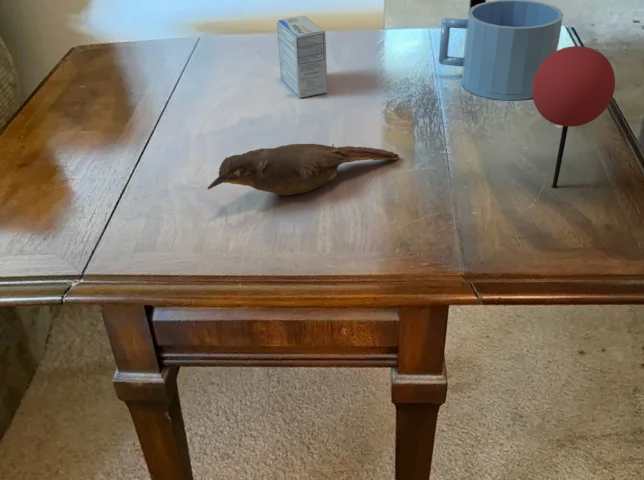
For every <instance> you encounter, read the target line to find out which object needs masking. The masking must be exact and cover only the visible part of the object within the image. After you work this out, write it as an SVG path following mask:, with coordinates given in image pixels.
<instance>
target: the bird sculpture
mask: <svg viewBox="0 0 644 480" xmlns="http://www.w3.org/2000/svg"><path fill="white" fill-rule="evenodd" d="M334 145H335V144H334V143H332V144H331V146H330V145H326V144H325V145H324V144H320V143H319V144H318V143H292V144H291V143H290V144H286V145H280V146H277V147H274V148H272V147H271V148H270V147H268V148H259V149H254V150H249V151H247V152H243V153H242V154H234V155H230V156H228V157H225V158H224V159H223V161H222V162H221V164H220V166H219V168H218V170H219V171H218V177H216V178H215V179H214V180H213V181H212V182H211V183H210V184H209V185H208V187H207V190H210V189H213V188H214V187H217V186H219V185H221V184H231V185H239V186H244V187H245V186H248V187H250V188H253V189H255V190H257V191H263V192H268V193H272V194H276V195H283V196H293V195H297V194H298V195H299V194H304V193H308V192H311V191H313V190H314V189H316V188H318V187H319V188H320V187H321V186H323V185H325V184H327V183H328V182H330V181H332V180H334V179H335V177H336V176H337V171H338V168H339V166H341V165H342V164H345V163H353V162H361V161H369V160H373V161H385V160H394V161H397V160H400V154H399V153H394V152H393V151H389V150H387V149H386V150H385V149H382V148H374V147H366V146H352V145H347V146H338V147H337V146H334Z"/></svg>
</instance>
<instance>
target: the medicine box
mask: <svg viewBox="0 0 644 480" xmlns="http://www.w3.org/2000/svg"><path fill="white" fill-rule="evenodd" d="M276 24H277V25H276V27H277V28H276V29H277V43H278V59H279V60H278V61H279V72H280V73H279V74H280V75H279V76H280V80H281V81H282V82H283V83H284V84H285V85H286V86H287V87H288V88H289V89H290V90H291V91H292V92H293V93H294V94H295V95H297V97H298V98H299V99H301V98H308V97H313V96H317V95H324V94H326V93H328V70H327V69H328V67H327V39H326V37H327V36H326V30H324V29H322V27H320V26H319V25H318V24H316V23H315V22H314V21H313V20H311V19H310V18H309V17H307V15H300V16H292V17H286V18H282V19H278V20H277V21H276Z"/></svg>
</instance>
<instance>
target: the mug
mask: <svg viewBox="0 0 644 480" xmlns="http://www.w3.org/2000/svg"><path fill="white" fill-rule="evenodd" d="M563 20H564V13H563V12H562V10H561V9H559V8H558V7H555V6H554V5H551V4H548V3H544V2H541V1H535V0H491V1H490V0H489V1H485V2H482V3H478V4H475V5H473V6H472V7H470V8H469V9H468V11H467V15H466V19H465V18H454V17H453V18H452V17H444V18H443V19H441V25H440V37H439V39H440V40H439V50H438V51H439V52H438V53H439V54H438V64H440V65H441V66H453V67H462V68H461V85H462V87H463V88H464V89H465V90H466V91H468V92H469V93H472V94H474V95H476V96H479V97H482V98H486V99H491V100H499V101H523V100H530V99H533V94H532V86H533V80H534V77H535V74H536V72H537V70H538V68H539V66H540V65H541V63H542V62H543V61H544V60H545V59H546V58H547V57H548V56H549V55H551V54H552V53H554V52H556V51H558V50H559V44H560V38H561V31H562V26H563ZM451 29H462V30H465V36H464V37H465V38H464V45H463V57H461V56H451V55H449V46H450V32H451Z"/></svg>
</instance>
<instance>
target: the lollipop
mask: <svg viewBox="0 0 644 480" xmlns="http://www.w3.org/2000/svg"><path fill="white" fill-rule="evenodd" d="M615 90H616V76H615V71H614V69H613V66H612V63H611V62H610V61H609V59H608V58H607V57H606V56H605V55H604V54H603V53H602V52H600V51H599V50H596V49H594V48H592V47H588V46H583V45H573V46H572V45H571V46H567V47H563V48H560V49H558V50H557V51H556V52H554V53H552V54H551V55H549V56H548V57H547V58H546V59H545V60H544V61H543V62H542V63H541V65H540V66H539V68H538V70H537V72H536V74H535V77H534V80H533V86H532V94H533V98H532V100H533V103H534V106H535V107H536V110H537V111H538V113H539V114H540V116H542V117H543V119H545V120H546V121H548V122H550V123H551V124H554V125H557V126H561V127H562V130H561V134H560V141H559V146H558V151H557V157H556V163H555V169H554V174H553V179H552V185H551V188H555V189H556V188H558V182H559V177H560V172H561V167H562V162H563V156H564V150H565V146H566V141H567V135H568V130H569V127H571V128H572V127H580V126H583V125H587V124H589V123H592V122H593V121H594V120H596V119H597V118H599V117H600V116H601V115H602V114H603V113H604V112H605V110H607V108H608V107H609V105H610V103H611V101H612V99H613V97H614V94H615Z"/></svg>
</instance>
